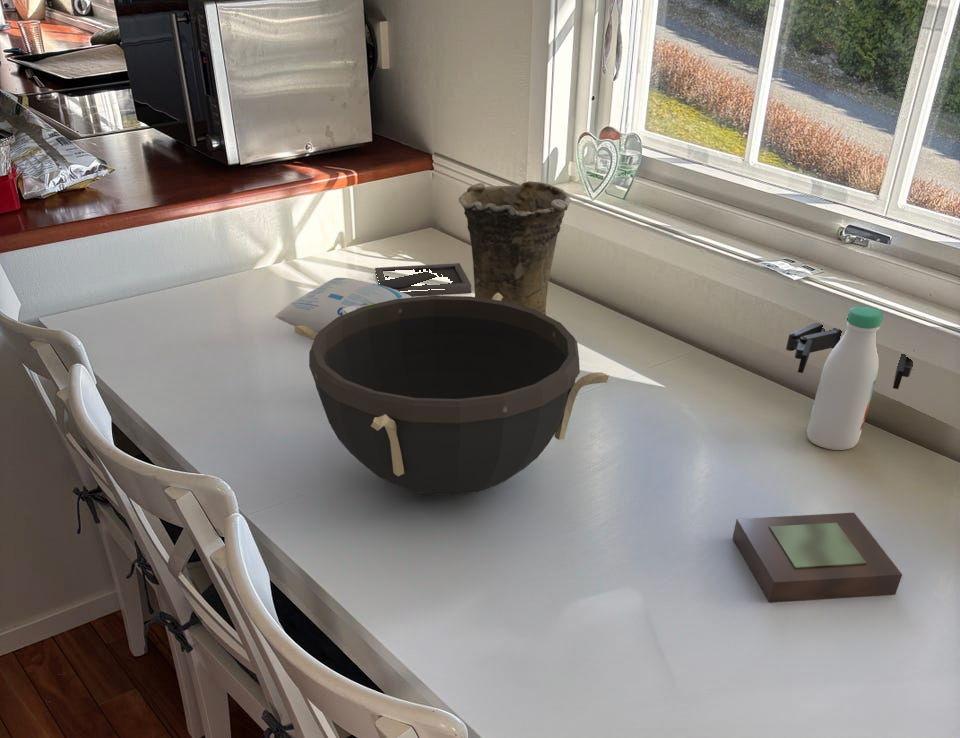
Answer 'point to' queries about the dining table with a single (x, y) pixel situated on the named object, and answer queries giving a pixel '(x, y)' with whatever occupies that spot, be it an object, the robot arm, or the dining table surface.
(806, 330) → the robot arm
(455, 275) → the picture frame
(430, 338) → the bowl
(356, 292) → the pouch
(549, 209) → the vase
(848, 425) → the milk bottle
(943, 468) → the dining table surface
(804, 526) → the brown wooden platform
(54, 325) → the dining table surface
